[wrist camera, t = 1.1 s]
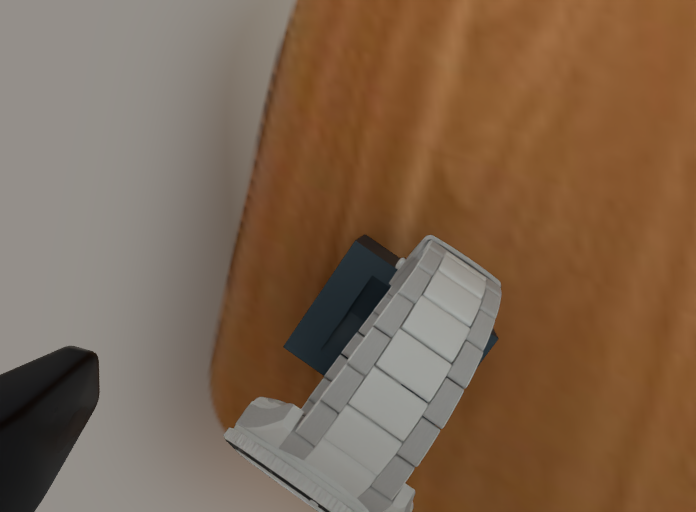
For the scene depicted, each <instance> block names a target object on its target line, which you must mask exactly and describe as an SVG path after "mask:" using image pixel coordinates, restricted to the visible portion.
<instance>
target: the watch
mask: <svg viewBox="0 0 696 512" xmlns="http://www.w3.org/2000/svg"><path fill="white" fill-rule="evenodd" d="M500 288H501V283H500V281H499V280H498V279H496V278H495V277H494V276H493V275H491V274H490V273H489V272H487V271H486V270H485V269H483V268H482V267H481V266H479V265H478V264H476V263H475V262H474V261H472V260H471V259H469V258H468V257H466V256H465V255H463V254H462V253H460V252H459V251H457V250H456V249H454V248H453V247H451V246H450V245H448V244H446V243H445V242H443V241H441V240H440V239H438V238H436V237H435V236H433V235H428V236H426V237H425V238H424V239H423V240H422V241H421V242H420V243H419V244H418V245H417V246H416V248H415V249H414V250H413V251H412V252H411V254H410V255H409V256H408V257H407V259H405V258H401V259H400V258H399V257H397V256H396V255H395V254H393V253H392V252H390V251H389V250H387V249H386V248H384V247H383V246H381V245H380V244H379V243H377V242H376V241H374V240H373V239H371V238H370V237H368V236H367V235H363V236H362V237H360V238H358V239H357V240H355V242H354V243H353V245H352V246H351V248H350V249H349V251H348V252H347V254H346V255H345V257H344V258H343V259H342V261H341V262H340V264H339V265H338V267H337V268H336V270H335V271H334V273H333V274H332V276H331V277H330V279H329V280H328V282H327V283H326V285H325V286H324V287H323V289H322V290H321V292H320V293H319V295H318V296H317V298H316V299H315V301H314V302H313V304H312V305H311V307H310V308H309V310H308V311H307V313H306V314H305V316H304V317H303V318H302V320H301V321H300V323H299V324H298V326H297V327H296V329H295V330H294V332H293V333H292V335H291V336H290V338H289V339H288V341H287V342H286V344H285V345H284V346H283V347H284V348H285V349H287V350H288V351H290V352H291V353H292V354H294V355H295V356H297V357H298V358H300V359H301V360H302V361H304V362H305V363H307V364H308V365H309V366H311V367H312V368H314V369H315V370H317V371H318V372H319V373H321V374H322V375H324V377H325V378H323V379H322V381H321V382H320V383H319V385H318V386H317V387H316V389H315V390H314V391H313V393H312V394H311V395H310V397H309V398H308V400H307V402H306V403H305V404H304V406H303V407H302V409H300V408H298V407H297V406H295V405H294V404H291V403H288V404H287V403H285V402H282V401H280V400H277V399H271V398H265V397H259V398H257V399H255V400H254V401H252V402H251V403H250V405H249V406H248V407H247V408H246V410H245V411H244V413H243V414H242V415H241V417H240V418H239V420H238V421H237V422H236V426H235V427H234V429H233V428H228V430H227V431H226V433H225V434H224V435H223V436H224V438H225V439H226V441H227V442H228V443H229V444H230V445H231V446H232V447H233V448H234V449H235V450H236V451H237V452H238V453H239V454H240V455H241V456H242V457H244V458H245V459H246V460H248V461H249V462H250V463H252V464H253V465H254V466H256V467H257V468H258V469H260V470H261V471H262V472H264V473H265V474H267V475H268V476H269V477H271V478H272V479H273V480H275V481H276V482H278V483H279V484H281V485H282V486H283V487H284V488H286V489H287V490H289V491H290V492H291V493H293V494H294V495H296V496H297V497H298V498H300V499H301V500H302V501H304V502H305V503H307V504H308V505H309V506H311V507H312V508H314V509H315V510H317V511H318V512H412V510H413V498H414V495H415V490H414V489H413V488H411V487H410V486H408V485H407V484H406V483H405V482H406V481H407V479H408V478H409V477H410V475H411V474H412V472H413V470H414V468H415V467H417V466H418V465H419V464H420V462H421V461H422V459H423V458H424V456H425V455H426V453H427V452H428V450H429V449H430V447H431V445H432V444H433V442H434V441H435V439H436V437H437V436H438V434H439V432H440V429H439V428H441V429H442V428H443V427H444V426H445V424H446V423H447V421H448V419H449V418H450V416H451V414H452V412H453V411H454V409H455V407H456V405H457V403H458V401H459V400H460V398H461V396H462V394H463V392H464V390H463V389H465V388H467V386H468V384H469V383H470V381H471V379H472V377H473V374H474V372H475V370H476V368H477V367H478V366H479V364H480V363H481V362H482V360H483V359H484V358H485V356H486V355H487V354H488V352H489V351H490V349H491V348H492V347H493V345H494V344H495V343H496V341H497V340H498V337H497V335H496V333H495V331H494V329H493V326H494V323H495V320H494V319H495V318H496V316H497V313H498V310H499V306H500V300H501V289H500ZM327 379H328V380H329V381H328V380H327ZM330 381H331V382H330ZM462 388H463V389H462ZM435 425H437V426H438V427H439V428H438V427H437V426H435Z"/></svg>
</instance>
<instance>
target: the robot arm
mask: <svg viewBox="0 0 696 512" xmlns="http://www.w3.org/2000/svg"><path fill="white" fill-rule="evenodd" d="M98 398H99V360H98V356H97V354H96V353H94V352H93V351H89V350H86V349H82V348H79V347H75V346H67V347H64V348H61V349H59V350H57V351H54V352H52V353H50V354H47V355H45V356H43V357H40V358H38V359H36V360H33V361H31V362H29V363H26V364H24V365H22V366H20V367H17V368H15V369H13V370H10V371H8V372H6V373H3V374H1V375H0V512H34V511H35V510H36V508H37V507H38V505H39V504H40V503H41V501H42V499H43V498H44V496H45V494H46V493H47V491H48V489H49V488H50V486H51V485H52V483H53V481H54V479H55V477H56V476H57V474H58V472H59V471H60V469H61V467H62V465H63V463H64V462H65V460H66V458H67V457H68V455H69V453H70V451H71V450H72V448H73V446H74V444H75V443H76V441H77V439H78V437H79V436H80V434H81V432H82V430H83V429H84V427H85V425H86V423H87V422H88V420H89V418H90V416H91V415H92V413H93V411H94V409H95V407H96V405H97V402H98Z"/></svg>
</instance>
